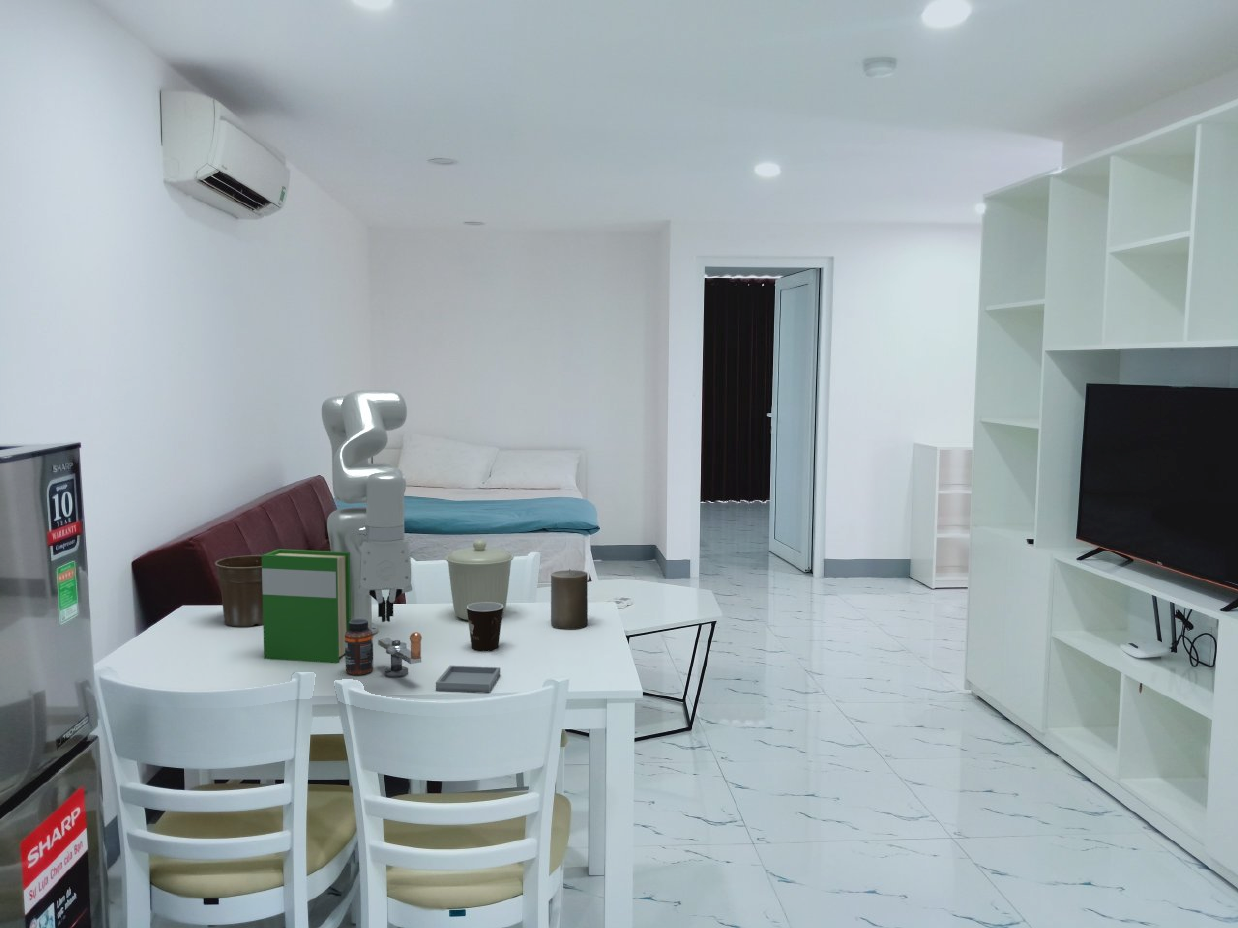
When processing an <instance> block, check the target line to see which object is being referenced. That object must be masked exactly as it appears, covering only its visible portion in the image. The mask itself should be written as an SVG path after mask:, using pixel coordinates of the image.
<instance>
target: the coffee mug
mask: <svg viewBox="0 0 1238 928" xmlns="http://www.w3.org/2000/svg"><path fill="white" fill-rule="evenodd" d="M502 613H503V605H502V604H499V603H493V602H480V603H474V604H470V605H468V606H467V614H468V620H467V621H468V629H469V637H470V644H471V645H470V646H471V649H472V651H476V652H481V653H482V652H483V653H484V652H491V651H496V650H498V649H499V646H500V638H501V628H502V621H503V620H502V619H503V614H504V613H503V614H502Z"/></svg>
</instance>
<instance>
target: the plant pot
mask: <svg viewBox="0 0 1238 928" xmlns="http://www.w3.org/2000/svg"><path fill="white" fill-rule="evenodd" d="M262 555H263V554H261V555H259V554H251V555H238V556H230V557H224V558H221V559H218V560H216V561H215V562H214V565H215V566H216V570H217V577H218V578H217V579H219V583H220V586H219V587H220V593H221V602H222V612H223V622H224V624H226V625H227V626H231V627H237V628H244V627H245V628H246V627H247V628H249V627H253V626H254V625H258V626H263V587H262Z"/></svg>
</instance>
